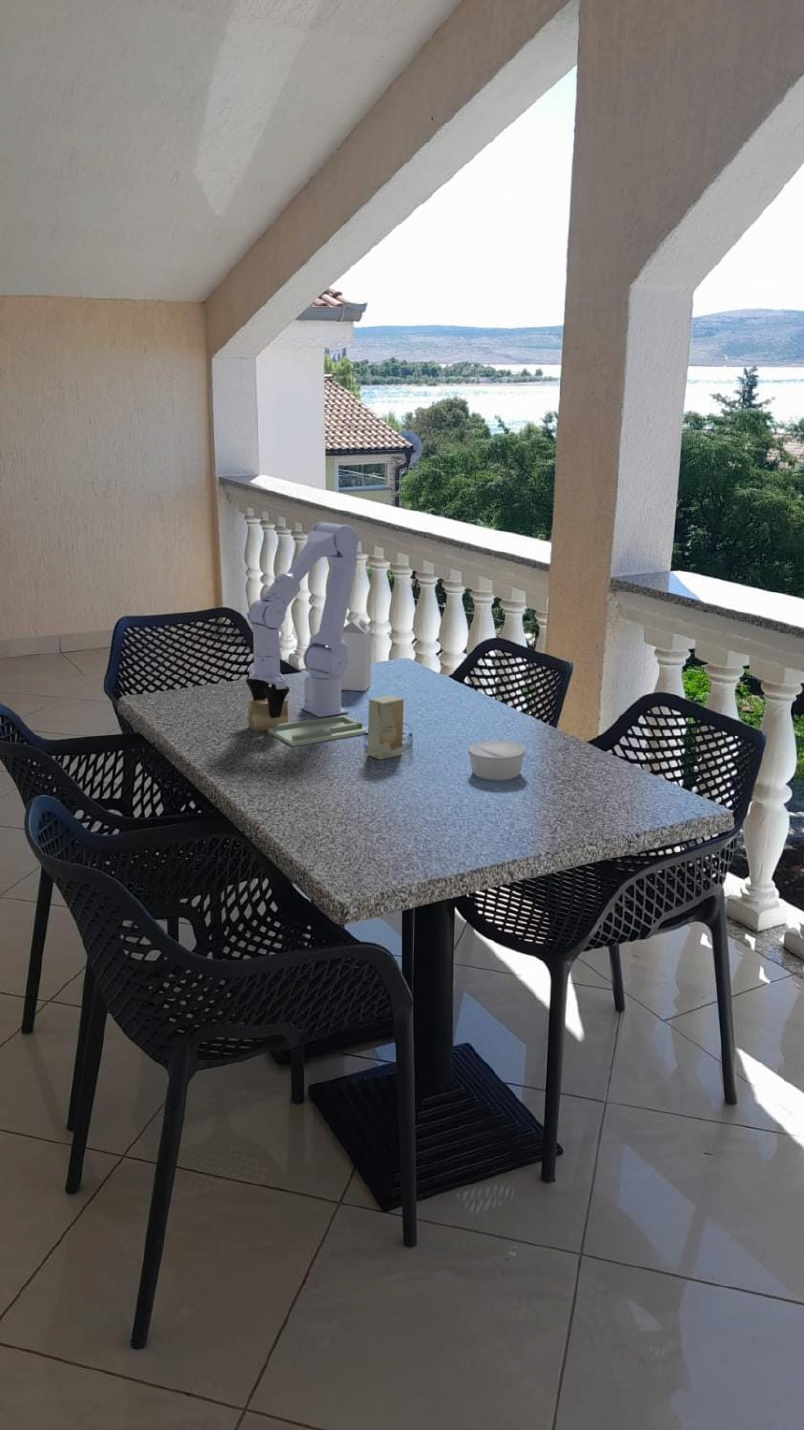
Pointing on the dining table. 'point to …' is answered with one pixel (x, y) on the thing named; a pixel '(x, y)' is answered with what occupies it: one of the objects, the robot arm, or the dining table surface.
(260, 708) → the panel block
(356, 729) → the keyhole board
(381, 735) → the skincare box
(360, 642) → the milk carton
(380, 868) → the dining table surface
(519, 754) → the ramekin
